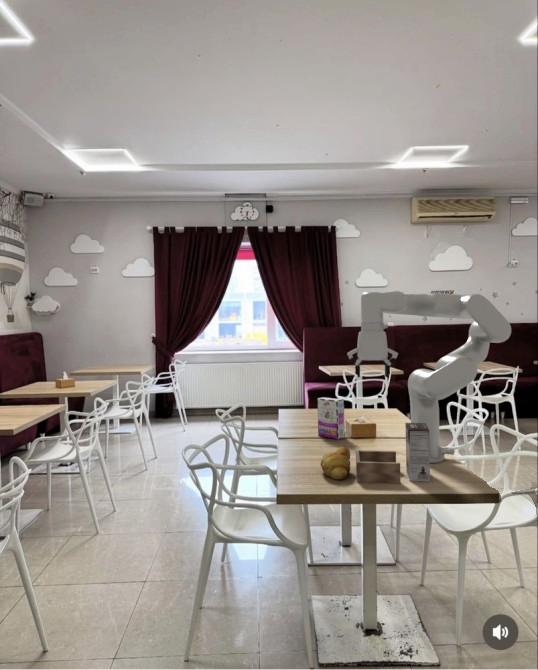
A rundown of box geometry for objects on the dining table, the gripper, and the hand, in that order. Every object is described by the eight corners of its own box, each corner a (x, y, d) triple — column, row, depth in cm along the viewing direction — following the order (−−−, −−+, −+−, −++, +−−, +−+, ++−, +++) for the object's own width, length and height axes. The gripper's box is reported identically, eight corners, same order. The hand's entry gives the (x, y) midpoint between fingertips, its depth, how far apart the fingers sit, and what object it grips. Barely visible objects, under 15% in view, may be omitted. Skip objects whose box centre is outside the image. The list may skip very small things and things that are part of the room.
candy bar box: (345, 437, 188) (344, 399, 187) (337, 440, 184) (337, 400, 184) (325, 433, 196) (324, 396, 195) (317, 435, 192) (316, 397, 192)
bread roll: (351, 482, 136) (350, 456, 136) (319, 481, 138) (319, 456, 137) (350, 468, 149) (350, 445, 148) (321, 468, 150) (320, 444, 150)
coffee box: (405, 471, 145) (404, 422, 144) (426, 471, 143) (425, 422, 143) (409, 481, 136) (408, 429, 135) (431, 482, 134) (430, 429, 134)
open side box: (395, 469, 147) (395, 451, 147) (400, 483, 134) (400, 463, 134) (356, 467, 149) (355, 450, 149) (357, 481, 136) (356, 462, 136)
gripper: (395, 327, 157) (396, 375, 158) (346, 327, 159) (346, 375, 160) (399, 327, 150) (399, 378, 150) (347, 328, 152) (348, 378, 152)
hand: (372, 376), depth 155 cm, fingers open, 9 cm apart
